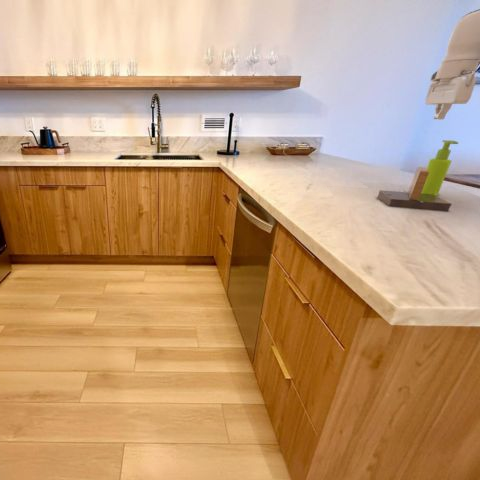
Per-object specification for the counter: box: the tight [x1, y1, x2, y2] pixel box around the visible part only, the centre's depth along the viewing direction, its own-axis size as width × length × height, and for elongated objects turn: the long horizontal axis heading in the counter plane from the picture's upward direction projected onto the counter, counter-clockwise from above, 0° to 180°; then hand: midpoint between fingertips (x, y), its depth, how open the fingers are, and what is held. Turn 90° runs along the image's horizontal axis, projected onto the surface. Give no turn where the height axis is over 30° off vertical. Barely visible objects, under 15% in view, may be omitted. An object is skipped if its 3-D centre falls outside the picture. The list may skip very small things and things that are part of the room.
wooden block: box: [407, 166, 429, 201], centre depth 96 cm, size 11×2×9 cm, turn 144°
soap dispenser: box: [421, 140, 459, 197], centre depth 107 cm, size 6×7×20 cm
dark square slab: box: [376, 189, 452, 212], centre depth 99 cm, size 16×15×3 cm
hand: (438, 119), depth 97 cm, fingers closed
